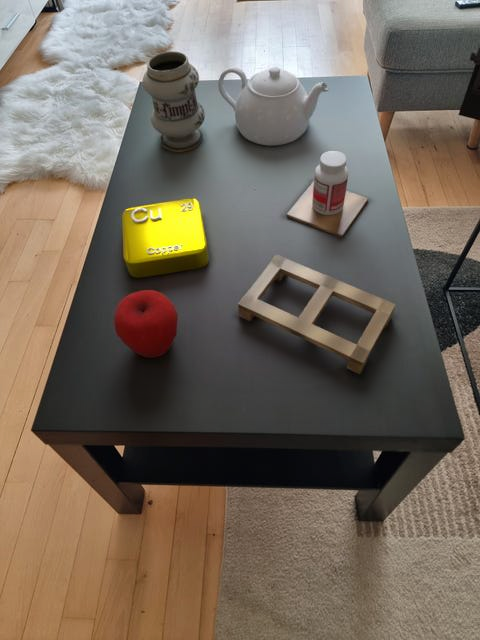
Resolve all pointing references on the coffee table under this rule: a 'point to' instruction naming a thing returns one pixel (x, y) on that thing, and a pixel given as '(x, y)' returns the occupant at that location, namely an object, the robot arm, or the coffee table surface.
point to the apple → (146, 322)
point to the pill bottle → (330, 183)
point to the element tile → (164, 238)
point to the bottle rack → (318, 310)
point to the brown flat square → (328, 223)
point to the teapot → (272, 105)
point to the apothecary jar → (174, 100)
